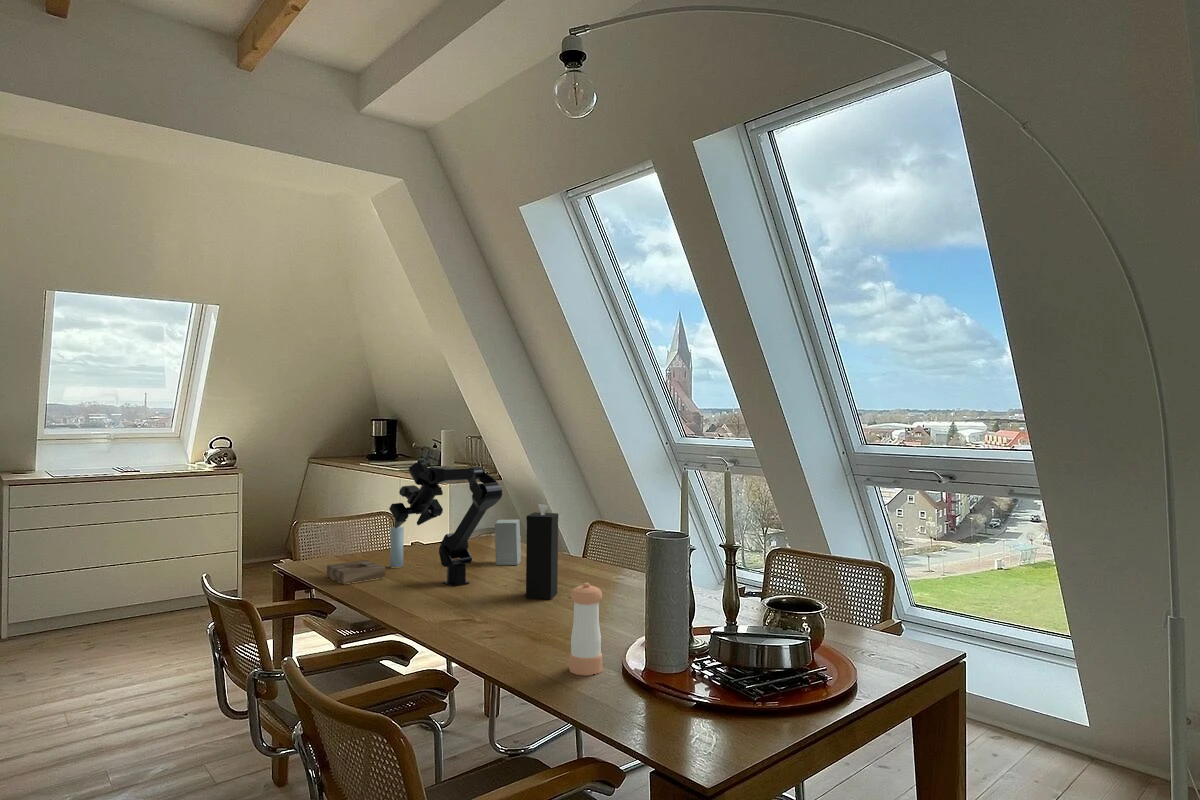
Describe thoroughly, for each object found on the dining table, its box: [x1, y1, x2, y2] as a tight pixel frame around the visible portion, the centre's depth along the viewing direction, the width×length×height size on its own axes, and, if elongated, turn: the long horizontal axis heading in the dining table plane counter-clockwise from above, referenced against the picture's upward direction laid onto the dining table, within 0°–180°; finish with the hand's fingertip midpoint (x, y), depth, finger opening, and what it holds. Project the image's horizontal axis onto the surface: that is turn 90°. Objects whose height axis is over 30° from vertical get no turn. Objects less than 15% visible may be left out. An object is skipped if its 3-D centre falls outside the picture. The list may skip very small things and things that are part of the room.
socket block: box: [326, 559, 386, 584], centre depth 256 cm, size 14×14×4 cm
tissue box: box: [525, 503, 559, 600], centre depth 236 cm, size 8×8×28 cm
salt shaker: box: [568, 582, 603, 676], centre depth 171 cm, size 7×7×19 cm
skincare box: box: [494, 519, 522, 566], centre depth 281 cm, size 8×7×16 cm
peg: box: [389, 526, 404, 567], centre depth 273 cm, size 4×4×14 cm
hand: (406, 525), depth 268 cm, fingers open, 9 cm apart
